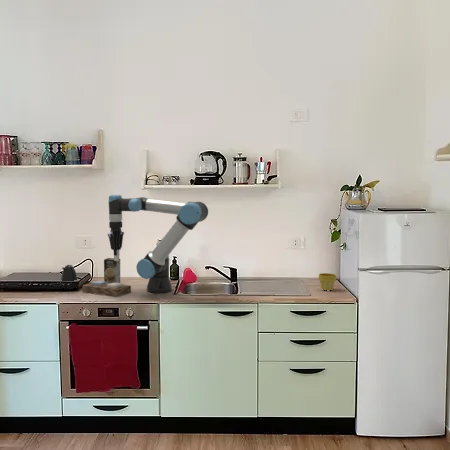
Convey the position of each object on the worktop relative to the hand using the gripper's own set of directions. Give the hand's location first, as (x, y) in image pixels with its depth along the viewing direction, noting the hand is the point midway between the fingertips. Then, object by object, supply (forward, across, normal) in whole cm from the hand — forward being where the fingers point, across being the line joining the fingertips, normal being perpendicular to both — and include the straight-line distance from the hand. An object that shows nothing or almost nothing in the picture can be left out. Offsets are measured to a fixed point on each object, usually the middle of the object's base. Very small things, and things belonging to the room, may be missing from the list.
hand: (116, 260), depth 305 cm
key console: (+19, +2, -6) cm, 20 cm away
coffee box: (+19, -19, -18) cm, 33 cm away
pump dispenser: (+19, +6, -32) cm, 37 cm away
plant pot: (+21, -62, +111) cm, 129 cm away
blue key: (+17, +2, -12) cm, 21 cm away
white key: (+17, +2, 0) cm, 17 cm away
